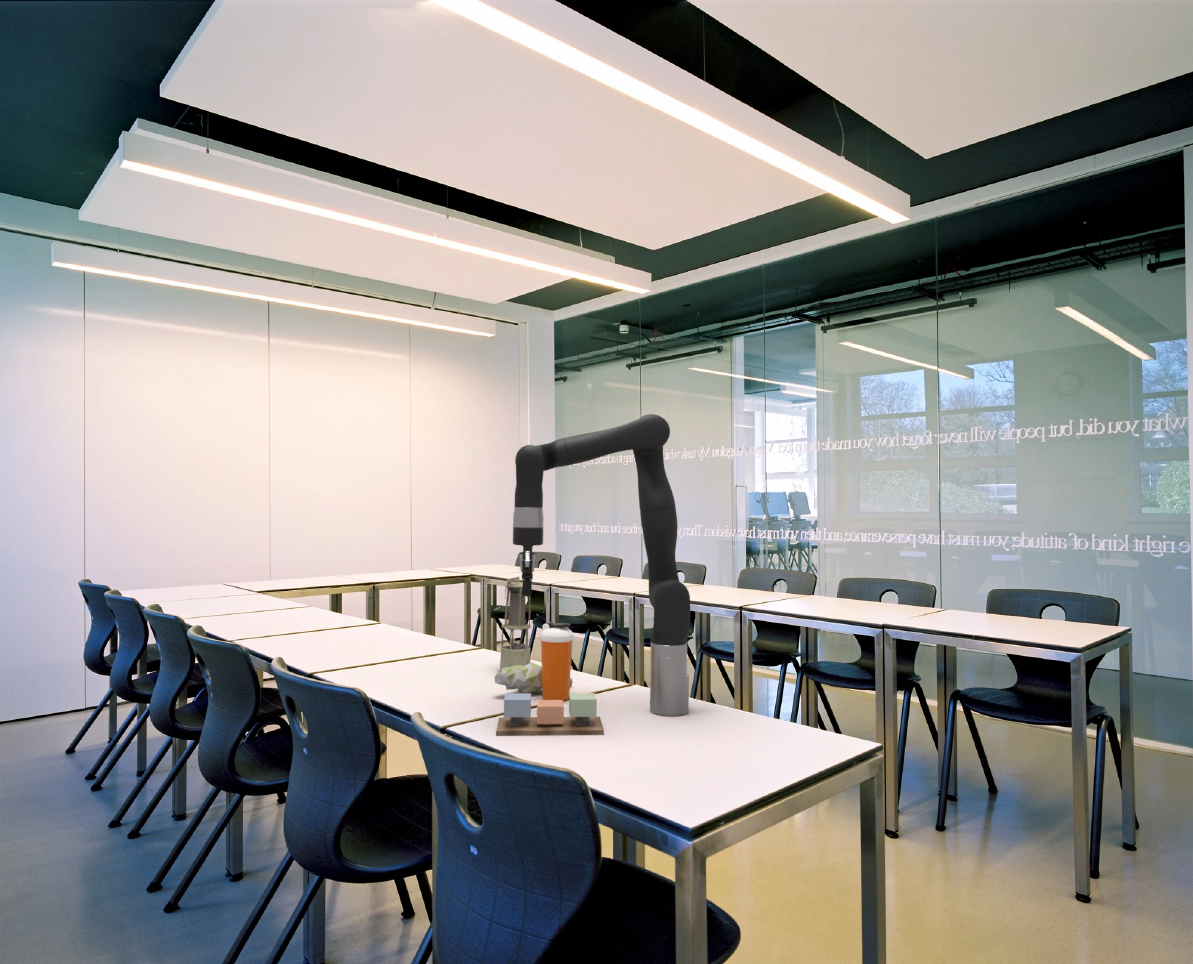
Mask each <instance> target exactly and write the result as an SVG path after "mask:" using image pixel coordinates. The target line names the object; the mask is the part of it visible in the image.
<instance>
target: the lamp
mask: <svg viewBox="0 0 1193 964" xmlns="http://www.w3.org/2000/svg"><path fill="white" fill-rule="evenodd" d="M520 579H521V577H520V576H517V577H511V578H510V577H509V578H508V579H507V580H506V584H504V587H505V588H504V600H505V599H506V601H505V614H504V624H501V629H502V632H501V639H500V640H501V646H500V659H499V670H498V672H497V674H498V673H499V671H500V670H501V669H502V668H506V667H511V666H516V665H521V666H525V665H527V664H529V663H531V647H530V646H529V629H530V628H532V625H531V613H532V611H531V596H527V597H528V598H527V600H528V604H527V605H528V606H527V609H528V624H526V596H523V595H522V592H523V581H520ZM494 596H495V595H494ZM501 607H502V605H501V606H499V607H496V608H494V609H493V611H497V610H499V609H500V608H501ZM503 629H506V630H509V645H504V630H503ZM515 630H516V631H517V630H518V631H519V630H520V631H522V630H525V633H524V635H525V643H518V642H514V632H515Z"/></svg>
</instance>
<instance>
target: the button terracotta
mask: <svg viewBox="0 0 1193 964" xmlns="http://www.w3.org/2000/svg"><path fill="white" fill-rule="evenodd" d="M536 701H537V704H536V717H537V724H564V717H565V716H564V715H565V713H564V712H565V711H564V707H565V705H564V701H563V700H544V699H537V700H536Z"/></svg>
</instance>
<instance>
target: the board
mask: <svg viewBox="0 0 1193 964" xmlns="http://www.w3.org/2000/svg"><path fill="white" fill-rule="evenodd" d="M592 735H593V736H594V735H595V736H596V735H597V736H598V735H599V736H600V735H601V736H604V735H605V729H604V726H603V723H602V719H601V716H597V717H570V716H564V724H537V716H530V717H504V716H502V717H498V721H497V725H496V729H495V736H497V737H498V736H503V737H504V736H505V737H506V736H510V737H511V736H513V737H514V736H592Z"/></svg>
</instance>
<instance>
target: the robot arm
mask: <svg viewBox="0 0 1193 964" xmlns="http://www.w3.org/2000/svg"><path fill="white" fill-rule="evenodd" d="M670 435H671V429H670V425H669V423H668V422H667V420H666V419H665V418H664V417H662V416H660V415H659V414H653V413H649V414H644V415H642V416H641V417H639V418H638V419H635V420H632V421H630V422H628V423H625V424H622V425H619V426H615V427H611V428H607V429H603V430H598V431H593V432H592V431H591V432H587V433H582V434H576V435H573V436H572V435H571V436H568V437H563V438H558V439H556V440H554V441H553V440H552V442H549V443H544V444H543V443H542V444H538V445H534V444H526V445H524V446H522V447H520V448H519V449H518V451H517V452H516V454H515V458H514V460H515V462H514V463H515V482H516V483H515V488H514V489H515V490H514V511H513V514H512V515H513V519H512V522H513V523H512V544H513V545H514V546H522V551H521V552H519V561H520V569H519V570H520V572H521V582H523V592H522V595H523V596H525V597H528V596H530V597H531V596H532V590H533V589H532V588H533V587H532V585H533V584H532V583H533V579H534V576H533V575H534V574H533V572H534V571H535V560H536V559H537V558H536V556H537V555H536V552H533V547H534V546H542V545H544V510H543V506H544V492H543V491H544V490H543V484H544V483H543V482H544V481H543V480H544V472H545V471H549V470H552V469H555V468H560V467H561V468H562V467H569V466H572V465H576V464H581V463H585V462H588V461H592V460H595V459H599V458H602V457H605V456H608V455H611V454H615V453H616V454H617V453H620V452H625V451H632V453H633V457H634V462H635V466H636V471H637V489H638V490H637V491H638V492H637V493H638V503H639V504H638V507H639V515H640V523H641V529H642V534H643V535H642V536H643V542H644V546H645V552H646V558H647V565H648V566H647V567H648V568H647V570H648V571H647V572H648V598H649V599H648V600H649V603H650V605H651V607H652V608H653V624H652V625H653V626H652V629H651V632H650V665H649V666H650V668H649V669H650V673H649V674H650V680H649V684H650V685H649V712H650V713H652V714H655V715H660V716H667V717H672V716H673V717H676V716H682V715H689V713H690V712H689V709H690V707H689V703H690V699H689V698H690V695H689V694H690V691H689V690H690V688H689V687H690V683H689V682H690V679H689V677H690V676H689V674H688V636H689V633H690V629H691V628H690V626H691V625H690V623H691V595H690V592H689V589H688V587H687V586H686V585H685V584H684V583H682V582H681V581H680V578H679V574H678V567H677V561H676V551H677V550H676V549H677V541H678V540H677V539H678V530H679V528H678V526H679V525H678V515H677V508H676V499H675V498H674V493H673V490H672V487H671V485H670V482H669V479H668V476H667V472H666V469H665V461H664V445H666V444H667V442H668V440H669V438H670Z"/></svg>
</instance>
